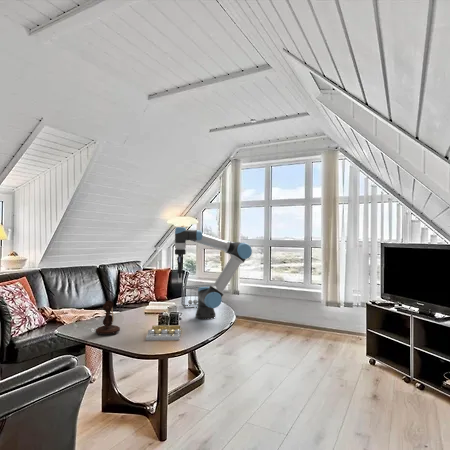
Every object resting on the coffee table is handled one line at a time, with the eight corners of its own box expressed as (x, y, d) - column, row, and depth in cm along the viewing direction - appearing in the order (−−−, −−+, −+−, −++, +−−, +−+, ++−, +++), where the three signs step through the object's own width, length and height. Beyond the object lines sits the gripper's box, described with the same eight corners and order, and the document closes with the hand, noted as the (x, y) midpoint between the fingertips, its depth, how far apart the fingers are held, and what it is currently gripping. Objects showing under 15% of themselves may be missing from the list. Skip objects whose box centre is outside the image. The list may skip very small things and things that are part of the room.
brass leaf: (181, 331, 230) (181, 325, 231) (180, 336, 220) (180, 330, 220) (150, 331, 230) (151, 325, 230) (148, 336, 219) (148, 330, 219)
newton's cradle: (183, 308, 297) (183, 287, 298) (181, 306, 307) (181, 285, 308) (217, 306, 306) (217, 286, 306) (214, 304, 316) (214, 284, 316)
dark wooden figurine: (118, 335, 220) (119, 303, 221) (93, 336, 217) (94, 304, 218) (120, 329, 235) (121, 299, 235) (97, 330, 232) (98, 299, 232)
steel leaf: (180, 334, 223) (180, 328, 223) (179, 340, 212) (179, 333, 212) (149, 335, 222) (149, 329, 222) (145, 340, 211) (145, 334, 211)
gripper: (175, 248, 255) (175, 281, 255) (173, 249, 242) (173, 283, 242) (186, 248, 255) (185, 281, 255) (184, 249, 242) (184, 283, 242)
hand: (179, 282), depth 248 cm, fingers closed
